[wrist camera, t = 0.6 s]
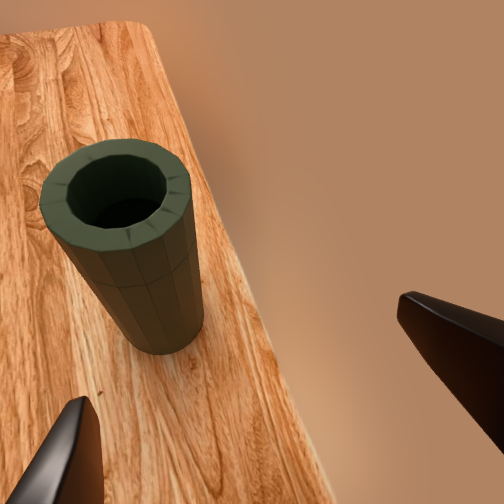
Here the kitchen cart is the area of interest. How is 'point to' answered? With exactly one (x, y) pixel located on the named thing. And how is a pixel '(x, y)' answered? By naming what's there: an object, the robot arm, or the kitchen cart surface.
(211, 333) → the kitchen cart surface
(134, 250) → the hollow cylinder
